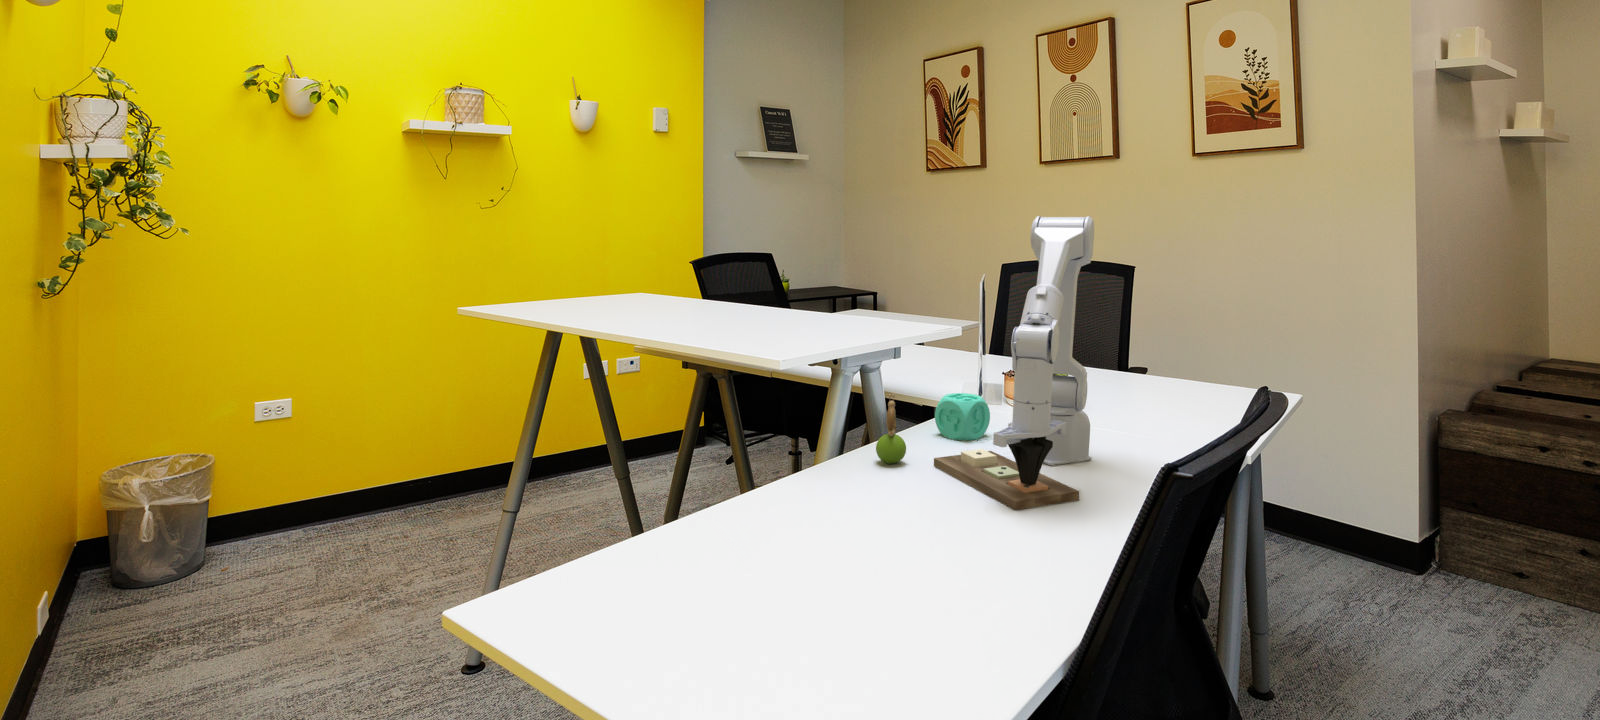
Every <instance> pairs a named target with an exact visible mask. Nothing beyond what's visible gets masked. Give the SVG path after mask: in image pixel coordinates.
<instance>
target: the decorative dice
mask: <svg viewBox="0 0 1600 720" xmlns="http://www.w3.org/2000/svg"><path fill="white" fill-rule="evenodd" d="M934 411H935V412H934V420H935V425H936V427H937V429H938V431H939V433H940V434H941V435H942V436H943V437H944V438H946V439H949V440H955V441H965V442H966V441H975V440H979V439H981V438H982V437H983V436H984V435H985V433H986V432H987V430H988V428H989V426H990V420H991V412H990V408H989V405H988V404H987V401H986V400H985V399H984V398H983V397H982V396H981V395H978V394H974V393H965V392H964V393H963V392H953V393H947V394H945V395H943V396H942V398H941V399H940V400H939V401H938V403H937V405H936V407H935V410H934Z"/></svg>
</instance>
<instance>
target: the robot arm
mask: <svg viewBox="0 0 1600 720" xmlns="http://www.w3.org/2000/svg"><path fill="white" fill-rule="evenodd" d="M1094 238H1095V221H1094V219H1093V218H1092V216H1090V215H1089V216H1088V215H1087V216H1041V215H1040V216H1039V215H1037V216H1036V217H1035V218H1034V219H1033V220H1032V224H1031V229H1030V246H1031V249H1032V251H1033V253H1034V256H1035V258H1036V259H1037V262H1038V269H1037V278H1036V285H1035V286H1033V287H1031V288H1030V289H1029V290H1028V291H1027V293H1026V298H1025V302H1024V306H1023V310H1022V315H1021V317H1020V323H1019V326H1015V327H1014V328H1013V331H1012V333H1011V334H1012V335H1011V339H1010V341H1011V342H1010V343H1011V344H1010V351H1011V358H1012V361H1011V362H1012V371H1014V376H1013V377H1014V379H1013V399H1012V400H1013V401H1012V402H1013V403H1012V404H1013V405H1012V419H1011V422H1008V423H1007V424H1008V426H1007V427H1005V428H1003V429H1001V430H999V431H995V432H993V438H992V439H993V442H992V445H993V446H995V447H1000V448H1006V447H1009V449H1010V451H1011V453H1012V455H1013V457H1014V462H1016V464H1017V467H1018V472H1019V476H1020V481H1021V483H1024V484H1026V485H1029V486H1031V485H1035V484H1036V482H1037V479H1038V475H1039V473H1041V469H1042V468H1043V467H1042V466H1043V464H1046V465H1048V466H1056V465H1063V464H1071V463H1078V462H1086V461H1092V456H1090V454H1089V453H1090V441H1091V440H1090V439H1091V438H1090V437H1091V422H1090V419H1089V416H1088V415H1087V413H1086V412H1085V411H1083V410H1084V409H1085V407H1086V404H1087V398H1088V372H1087V369H1086V367H1085V366H1083V365H1082V364H1081V363H1080V362H1079V361H1077V360H1076V359H1075V358H1074V357H1073V347H1074V346H1073V345H1074V335H1075V334H1074V333H1075V321H1076V320H1075V318H1076V307H1077V305H1076V304H1077V291H1078V290H1077V288H1078V278H1079V274H1080V271H1081V268H1082V267H1084V266H1086V265H1089V264H1091V262H1092V258H1093V251H1094Z"/></svg>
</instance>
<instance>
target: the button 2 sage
mask: <svg viewBox="0 0 1600 720" xmlns="http://www.w3.org/2000/svg"><path fill="white" fill-rule="evenodd" d="M983 472H984V473H986V474H988V475H990V476H992V477H994V478H996V479H998V480H1000V479H1007V478H1014V477H1020V476H1019V472H1018V471H1016V470H1014V469H1011V468H1009V467H1007V466H999V467H992V468H984V470H983Z"/></svg>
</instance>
